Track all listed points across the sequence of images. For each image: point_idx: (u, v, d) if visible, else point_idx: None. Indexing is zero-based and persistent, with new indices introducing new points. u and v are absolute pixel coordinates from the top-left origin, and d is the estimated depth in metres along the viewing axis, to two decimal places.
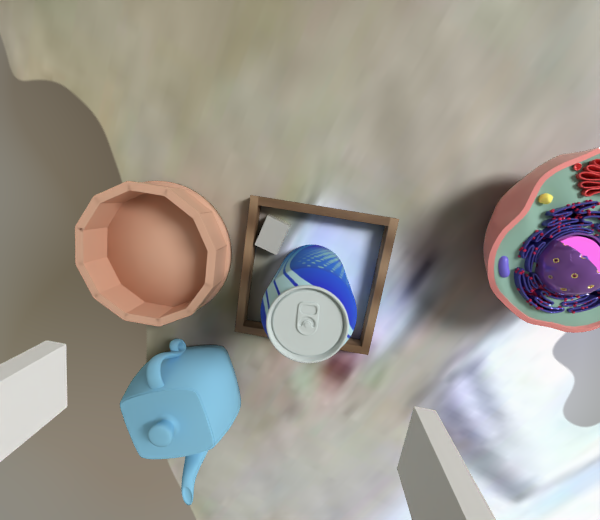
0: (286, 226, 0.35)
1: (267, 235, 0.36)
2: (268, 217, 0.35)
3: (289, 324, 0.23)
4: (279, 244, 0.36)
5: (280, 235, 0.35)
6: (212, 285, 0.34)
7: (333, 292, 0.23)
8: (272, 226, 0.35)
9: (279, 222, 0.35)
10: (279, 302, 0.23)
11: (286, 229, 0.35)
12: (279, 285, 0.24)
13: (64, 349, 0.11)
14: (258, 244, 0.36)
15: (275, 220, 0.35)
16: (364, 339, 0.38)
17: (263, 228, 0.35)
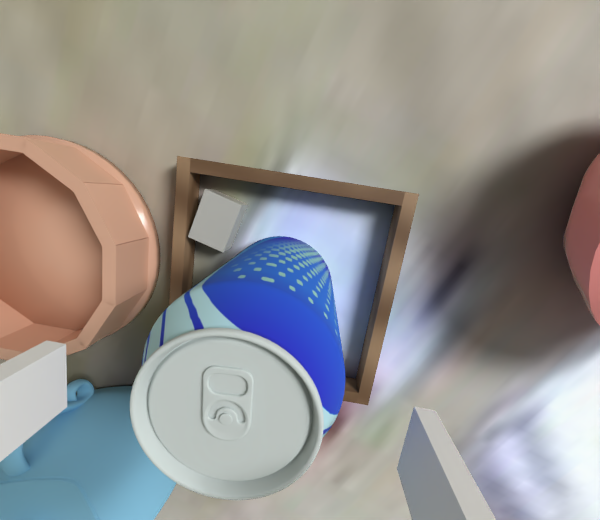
0: (236, 206, 0.22)
1: (207, 222, 0.22)
2: (206, 192, 0.22)
3: (186, 416, 0.10)
4: (227, 235, 0.22)
5: (227, 220, 0.22)
6: (114, 302, 0.21)
7: (287, 342, 0.10)
8: (214, 207, 0.22)
9: (224, 199, 0.22)
10: (160, 366, 0.10)
11: (236, 210, 0.22)
12: (168, 322, 0.10)
13: (64, 349, 0.11)
14: (194, 236, 0.23)
15: (218, 196, 0.22)
16: (362, 382, 0.25)
17: (200, 210, 0.22)
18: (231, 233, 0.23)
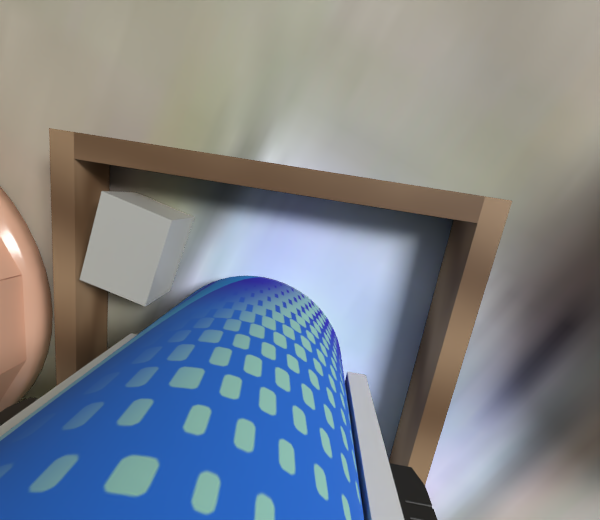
0: (162, 222, 0.12)
1: (111, 252, 0.12)
2: (105, 197, 0.12)
3: None
4: (149, 276, 0.12)
5: (148, 248, 0.12)
6: None
7: None
8: (122, 224, 0.12)
9: (140, 210, 0.12)
10: None
11: (163, 231, 0.12)
12: None
13: None
14: (90, 278, 0.12)
15: (128, 205, 0.12)
16: None
17: (96, 231, 0.12)
18: (158, 271, 0.12)
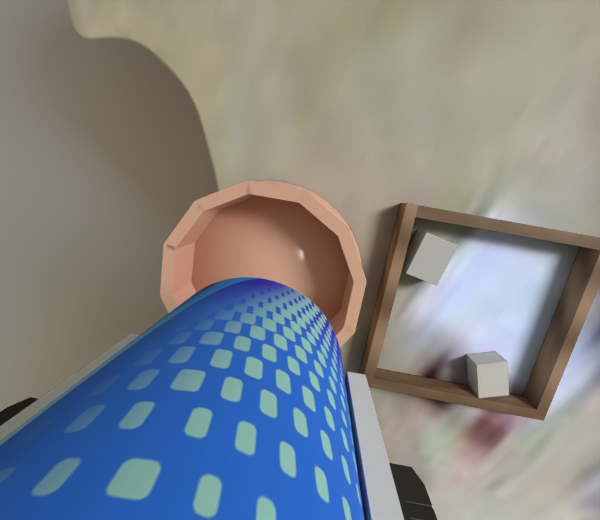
0: (453, 245, 0.25)
1: (425, 260, 0.26)
2: (427, 235, 0.25)
3: None
4: (441, 271, 0.26)
5: (444, 258, 0.25)
6: (354, 329, 0.24)
7: None
8: (433, 247, 0.25)
9: (443, 240, 0.25)
10: None
11: (453, 250, 0.25)
12: None
13: None
14: (411, 272, 0.26)
15: (437, 238, 0.25)
16: (541, 400, 0.28)
17: (419, 250, 0.25)
18: None
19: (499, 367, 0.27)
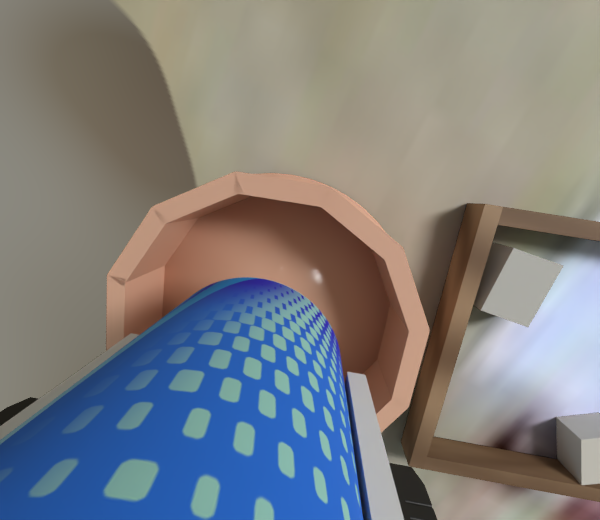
0: (555, 267, 0.16)
1: (510, 289, 0.17)
2: (515, 251, 0.16)
3: None
4: (536, 305, 0.17)
5: (540, 286, 0.17)
6: (408, 402, 0.16)
7: None
8: (523, 270, 0.17)
9: (540, 260, 0.16)
10: None
11: (555, 273, 0.16)
12: None
13: None
14: (489, 309, 0.17)
15: (530, 256, 0.16)
16: None
17: (502, 275, 0.17)
18: None
19: None
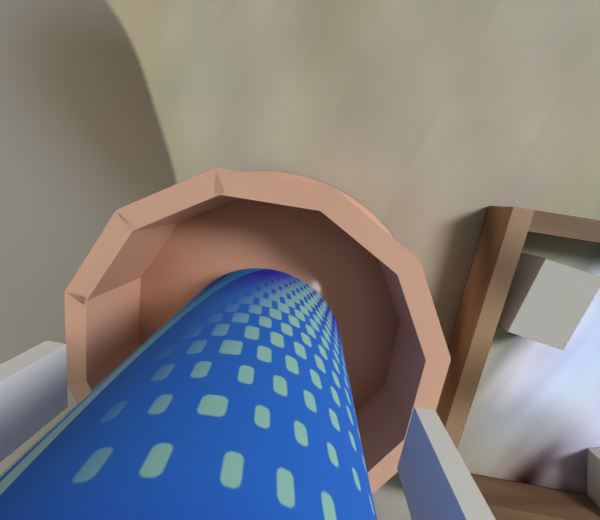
0: (595, 280, 0.14)
1: (542, 307, 0.14)
2: (548, 263, 0.14)
3: None
4: (573, 324, 0.14)
5: (577, 302, 0.14)
6: None
7: None
8: (557, 284, 0.14)
9: (577, 272, 0.14)
10: None
11: (595, 287, 0.14)
12: None
13: (64, 349, 0.11)
14: (518, 330, 0.15)
15: (565, 268, 0.14)
16: None
17: (533, 291, 0.14)
18: None
19: None
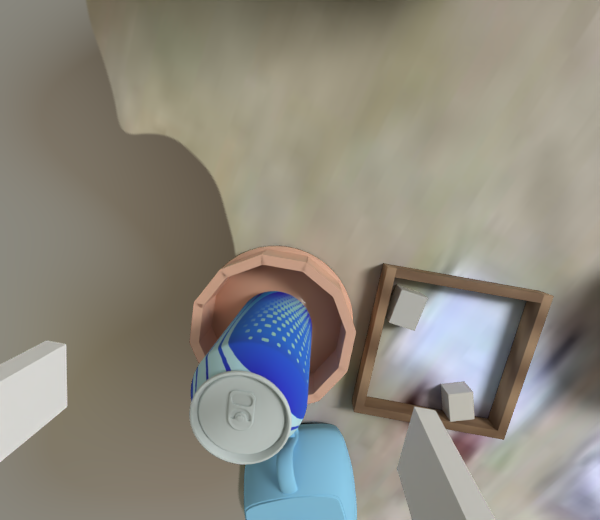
0: (424, 298, 0.31)
1: (403, 311, 0.32)
2: (403, 291, 0.31)
3: (219, 416, 0.19)
4: (417, 319, 0.32)
5: (418, 308, 0.32)
6: (347, 369, 0.30)
7: (274, 378, 0.18)
8: (408, 300, 0.32)
9: (416, 295, 0.31)
10: (206, 389, 0.18)
11: (424, 302, 0.32)
12: (210, 364, 0.19)
13: (64, 349, 0.11)
14: (393, 321, 0.32)
15: (411, 293, 0.32)
16: (501, 423, 0.34)
17: (398, 304, 0.32)
18: None
19: (466, 396, 0.34)
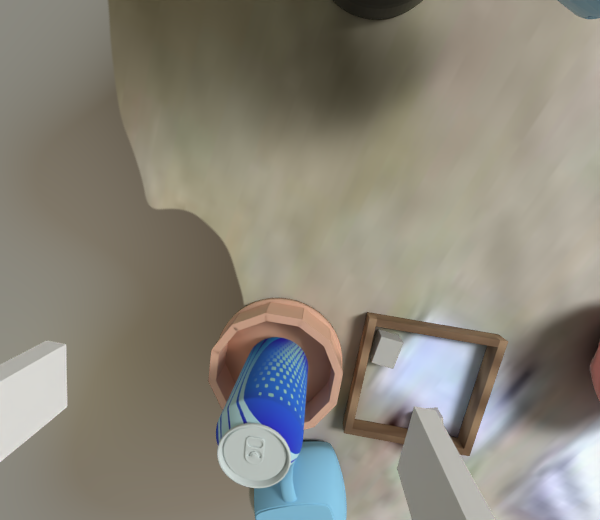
0: (400, 343, 0.38)
1: (383, 353, 0.39)
2: (382, 338, 0.38)
3: (238, 454, 0.26)
4: (395, 359, 0.39)
5: (395, 351, 0.38)
6: (336, 402, 0.37)
7: (278, 427, 0.25)
8: (387, 345, 0.38)
9: (393, 341, 0.38)
10: (229, 435, 0.25)
11: (400, 346, 0.38)
12: (231, 416, 0.26)
13: (64, 349, 0.11)
14: (375, 362, 0.39)
15: (389, 339, 0.38)
16: (466, 442, 0.41)
17: (378, 347, 0.38)
18: None
19: None
